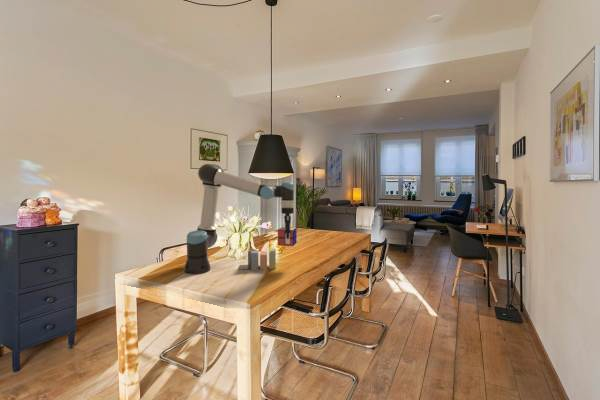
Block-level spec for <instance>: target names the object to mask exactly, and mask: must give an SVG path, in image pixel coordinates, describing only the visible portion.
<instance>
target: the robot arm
mask: <svg viewBox="0 0 600 400" xmlns="http://www.w3.org/2000/svg"><path fill="white" fill-rule="evenodd" d="M197 175H198V178H199V179H200V181H201V182H202V186H203V187H204V189H203V190H204V191H203V199H202V206H201V214H200V224H199V225H198V226H197V228H196V229H197V230H193V231H190V232H188V233H187V234H186V252H187V253H186V255H187V256H186V259H185V260H186V261H185V264H184V267H183V268H184V269H183V272H184V273H186V274H191V275H192V274H193V275H195V274H203V273H208V272H209V271H211V264H210V261H209V257H208V249H209V248H212V247H214V245H215V244H216V242H217V241H218V233H217V227H216V226H215V223H216V222H215V221H216V213H217V212H216V211H217V203H218V195H219V189H220V188H222V186H224V187H226V188H230V189H233V190H237V191H240V192H244V193H247V194H250V195H253V196H257V197H261V198H262V199H264V200H271V199H272V198H280V199H281V204H280V205H281V214H283V215H284V216H283V217H284V227H286V232H285V244H290V228H291V219H292V218H291V214H292V215H293V214H294V212H295V211H294V210H295V209H294V208H295V207H294V204H295V201H294V198H295V197H294V196H295V195H294V194H295V191H294V190H295V189H294V183H293V182H290V181H289V182H281V185H271V184H267V185H266V184H262V183H260V182H257V181H254V180H250V179H247V178H244V177H241V176H237V175H234V174H230V173H227V172H225V170H224V169H223V167H221V166H220V165H219V164H214V163H213V164H212V163H205V164H202V165H201V166H199V169H198V172H197ZM211 226H212V227H211Z"/></svg>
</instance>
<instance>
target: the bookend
mask: <svg viewBox="0 0 600 400" xmlns="http://www.w3.org/2000/svg"><path fill="white" fill-rule="evenodd" d="M251 252H252V248H248V250H247V264H239V265H238V269H237V270H238V271H239V270H244V271H245V270H250V271H251V270H252V269H251Z"/></svg>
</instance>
